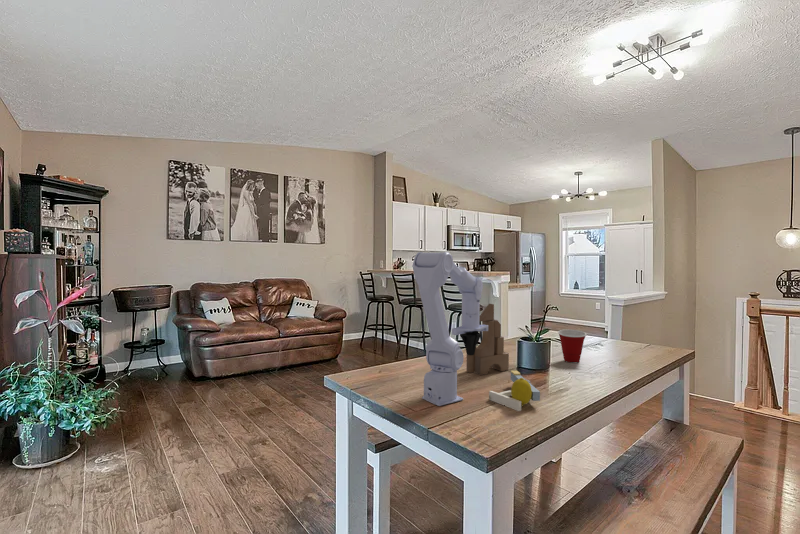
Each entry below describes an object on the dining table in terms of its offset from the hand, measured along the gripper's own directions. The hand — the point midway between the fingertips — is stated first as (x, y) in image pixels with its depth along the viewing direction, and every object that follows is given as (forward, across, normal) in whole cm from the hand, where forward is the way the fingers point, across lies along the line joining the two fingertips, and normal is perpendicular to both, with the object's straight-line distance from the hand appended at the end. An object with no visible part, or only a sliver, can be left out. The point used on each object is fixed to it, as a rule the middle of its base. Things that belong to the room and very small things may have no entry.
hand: (470, 354), depth 134 cm
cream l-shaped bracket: (+10, -1, -19) cm, 21 cm away
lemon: (+10, -2, -22) cm, 25 cm away
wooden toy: (+10, +17, +9) cm, 22 cm away
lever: (+8, +6, -17) cm, 20 cm away
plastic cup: (+10, +56, 0) cm, 57 cm away
